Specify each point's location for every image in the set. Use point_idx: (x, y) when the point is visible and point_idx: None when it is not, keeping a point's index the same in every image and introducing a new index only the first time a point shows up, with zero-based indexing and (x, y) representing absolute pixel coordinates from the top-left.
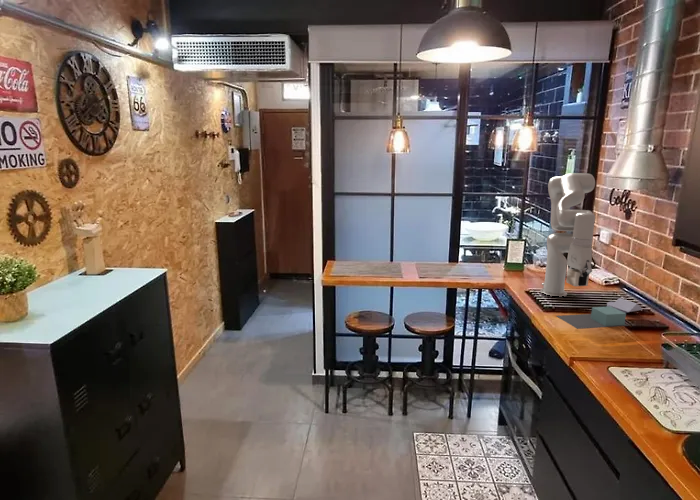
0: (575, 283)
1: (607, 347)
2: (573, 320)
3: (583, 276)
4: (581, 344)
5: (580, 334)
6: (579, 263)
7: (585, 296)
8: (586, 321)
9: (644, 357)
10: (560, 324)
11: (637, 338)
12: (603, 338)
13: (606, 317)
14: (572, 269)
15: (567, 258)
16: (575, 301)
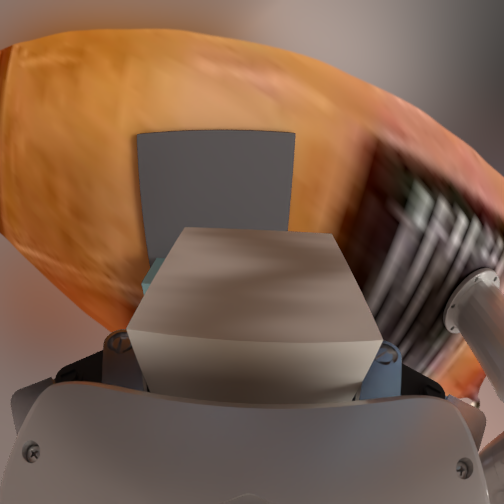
0: (175, 243)
1: (34, 160)
2: (225, 175)
3: (112, 345)
4: (51, 93)
5: (112, 128)
6: (38, 480)
7: (412, 361)
8: (205, 222)
9: (5, 216)
10: (216, 106)
11: (91, 285)
12: (81, 189)
13: (145, 276)
14: (330, 383)
15: (481, 484)
16: (405, 322)
